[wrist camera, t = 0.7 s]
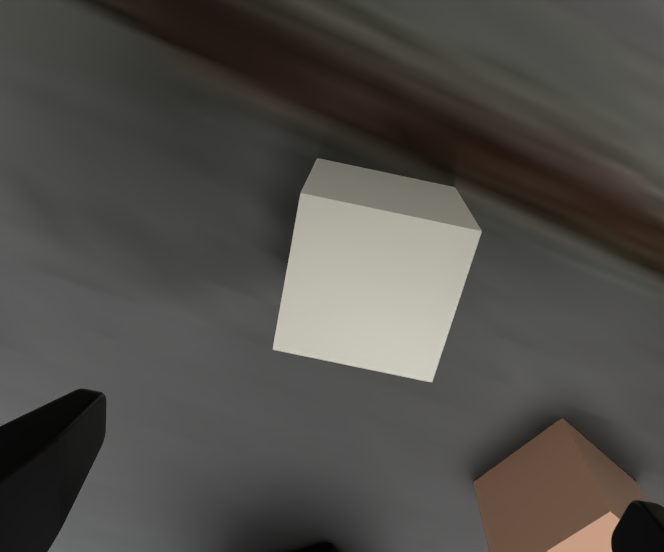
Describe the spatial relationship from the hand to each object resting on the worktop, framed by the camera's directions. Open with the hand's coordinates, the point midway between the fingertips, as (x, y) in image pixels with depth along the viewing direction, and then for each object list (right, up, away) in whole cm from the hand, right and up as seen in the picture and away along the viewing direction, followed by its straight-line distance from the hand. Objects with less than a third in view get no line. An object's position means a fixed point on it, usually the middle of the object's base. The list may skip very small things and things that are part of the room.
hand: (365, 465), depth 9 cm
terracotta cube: (+9, -6, +15) cm, 19 cm away
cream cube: (+1, +5, +11) cm, 12 cm away
